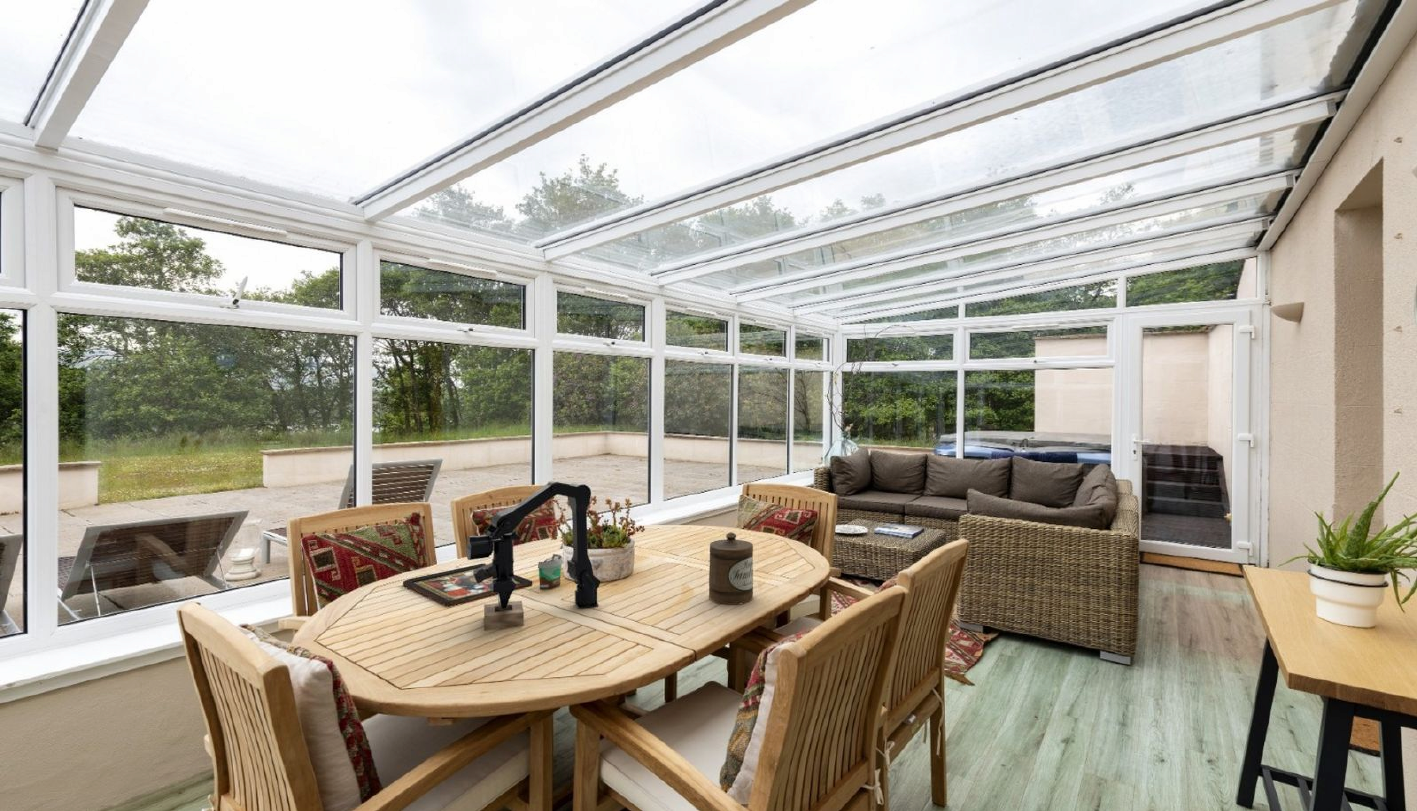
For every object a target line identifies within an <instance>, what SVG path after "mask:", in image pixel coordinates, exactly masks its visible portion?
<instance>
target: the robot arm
mask: <svg viewBox="0 0 1417 811" xmlns="http://www.w3.org/2000/svg"><path fill="white" fill-rule="evenodd" d="M557 495H559V496H563V497H567V501H568V505H569V507H570V509H571V516H572V517H571V518H572V519H571V520H572V522H571V524H572V548H573V549H572V552H573V553H572V557H571V559H567V560H566V564H567V570H566V573H567V574H568V575H569V577H570V579H572V580H573V582H574V584H576V589H575V590H574V604H575V605H576V607H577V609H583V608H593V607H598V606H599V603H598V588H599V587H600V584H601V580H600V579H599V578H598V577H596V576H595V574H594V570H593V565H592V564H593V563H592V561H591V560H590V556H589V547H588V519H587V518H588V516H587V513H588V511H587V510H588V509H589V506H590V503H591V498H592V497H591V496H592V489H591V488H590V487H589V486H588V485H587V484H584V483H580V482H577V481H576V482H572V483H570V484H569V483H566V482H559V481H555V480H550V481H548V482H547V483H546V484H545V485H544V486H542V487H540V488H539V489H538V490H537V491H535V492H533V493H532V494H530V495H529V496H527V497H526V498H525V499H523V500H522V501H520V502H519V503H517V504H515V505H514V506H510V507H508V508H505V509H503V510H501V511H498V512H496V513H494V515H493V516H492V517H491V522H490V524H489V526H488V527H487V528H486V530H485V531H484V533H483V534H481V535H469V536H468V537H467V542H466V546H465V553H466V554H465V555H466V558H467V560H468V561H474V560H478V559H479V560H480V559H487V558H489V557H490V556H492V554H493V557H492V561H491V562H490V563H488V564H487V565H485V566H482V567H480V568H478V569H475V570H474V571H473V575H474V577H475V580H476V582H477V583H481V582H482V581H484V580H486V579H488V578H490V577H492V578H493V579H496V580H493V592H498V593H499V597H500V602H501V606H502V609H505V608H506V606H507V604H508V602H510V599H511V597H512V593H513V592H514V591H516V583H515V580H514V579H513V578H510V577H514V575H515V574H514V563H515V558H514V541H515V540H520V539H521V536H520V535H518V533H517V532H516V531H515V529H517V527H519V525H520V524H522V522H523V520H524V519H525V518H526V517H527V516H529V515H530V514H531V513H533V512H534V511H535V510H537V509H539V508H540V507H541V506H543V505H544V504H546V503H547V502H549V501H550V500H551V499H553V498H554V497H555V496H557Z"/></svg>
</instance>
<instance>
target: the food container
mask: <svg viewBox="0 0 1417 811" xmlns="http://www.w3.org/2000/svg"><path fill="white" fill-rule="evenodd" d="M563 564H564V558H563V556H562V555H560V554H558V553H552V556H551V557H549V558H546V559H545V560H544V561H538V564H537V568H538V577H539V590H540V591H542V590H552V589H556V588H559V587H560V586H561V580H562V579H561V576H562V575H561V574H562V565H563Z"/></svg>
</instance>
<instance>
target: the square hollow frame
mask: <svg viewBox="0 0 1417 811" xmlns="http://www.w3.org/2000/svg"><path fill="white" fill-rule="evenodd" d="M522 601H523V600H516V601H514V600H513V601H509V611H499V612H498V602H496V603H486V604H484V606H483V611H484V612H483V613H484V614H483V615H484V616H483V629H484V630H483V631H488V630H497V629H498V630H499V629H505V628H514V627H516V628H517V627H523V626H525V624H524V623H525V622H524V621H525V620H524V618H525V617H524V615H525V614H524V613H525V612H524V607H523V606H524V605H523V602H522Z"/></svg>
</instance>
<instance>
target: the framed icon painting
mask: <svg viewBox="0 0 1417 811" xmlns="http://www.w3.org/2000/svg"><path fill="white" fill-rule="evenodd" d="M485 565H487V564H486V563H478V564H473V565H470V566H465V567H460V568H454V569H451V570H446V571H441V572H436V573H431V574H425V575H422V576H417V577H412V578H408V579H405V580H403V581H402V585H403V587H404V588H406V589H409V590H411V589H412V590H411V591H413V590H414V591H413V592H415V593H418V594H419V595H422V596H425V597H426V598H428V597H429V599H430V598H431V599H430V600H432V601H435V602H437V603H439V604H440V605H443V604H444V605H443V606H445V605H446V606H445V607H447V606H448V607H447V608H452V607H455V605H456V606H459V605H458V604H460V605H462V604H463V605H464V604H468V603H470V602H471V603H472V602H474V601H478V600H482V599H486V598H490V597H494V596H498V592H493V580H496V579H493V578H492V577H490V578H488V579H486V580H484V581H482V582H481V583H477V582H476V580H475V577H474V575H473V571H474V570H475V569H478V568H480V567H482V566H485ZM510 578H513V579H514V580H515V583H516V590H521V589H525V588H529V587H532V586H533V580H531V579H528V578H525V577H522V576H519V575H517V574H514V577H510ZM516 590H515V591H516ZM451 606H452V607H451Z"/></svg>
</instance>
